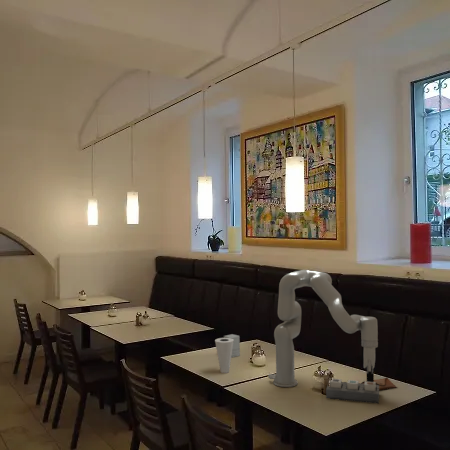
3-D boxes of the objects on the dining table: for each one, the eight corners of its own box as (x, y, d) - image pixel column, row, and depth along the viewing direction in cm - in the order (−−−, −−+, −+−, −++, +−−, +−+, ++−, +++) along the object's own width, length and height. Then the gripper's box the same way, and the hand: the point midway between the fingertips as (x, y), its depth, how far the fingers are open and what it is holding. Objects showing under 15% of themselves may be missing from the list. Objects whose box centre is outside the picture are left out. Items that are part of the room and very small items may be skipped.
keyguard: (326, 398, 240) (326, 389, 240) (329, 389, 253) (329, 380, 253) (378, 403, 233) (378, 393, 233) (379, 394, 245) (379, 384, 245)
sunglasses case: (371, 393, 247) (366, 379, 250) (363, 396, 252) (358, 383, 255) (399, 387, 254) (394, 374, 257) (390, 391, 260) (385, 378, 263)
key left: (330, 389, 244) (330, 381, 244) (331, 386, 249) (331, 378, 248) (340, 390, 242) (340, 382, 242) (341, 387, 247) (341, 379, 247)
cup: (234, 369, 290) (234, 337, 290) (233, 374, 279) (232, 342, 279) (216, 368, 291) (216, 337, 291) (214, 374, 280) (213, 342, 280)
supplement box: (232, 353, 324) (232, 333, 323) (240, 355, 318) (239, 335, 318) (223, 355, 319) (223, 335, 319) (231, 358, 313) (231, 337, 313)
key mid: (347, 391, 241) (347, 382, 241) (348, 388, 246) (347, 379, 246) (357, 392, 240) (357, 383, 240) (358, 388, 245) (358, 380, 244)
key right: (364, 393, 239) (364, 384, 239) (364, 389, 244) (364, 381, 244) (375, 393, 237) (375, 385, 237) (375, 390, 242) (375, 381, 242)
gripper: (362, 339, 248) (362, 376, 249) (360, 346, 234) (361, 385, 234) (378, 339, 246) (378, 377, 246) (377, 347, 232) (378, 387, 232)
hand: (370, 381), depth 240 cm, fingers closed
